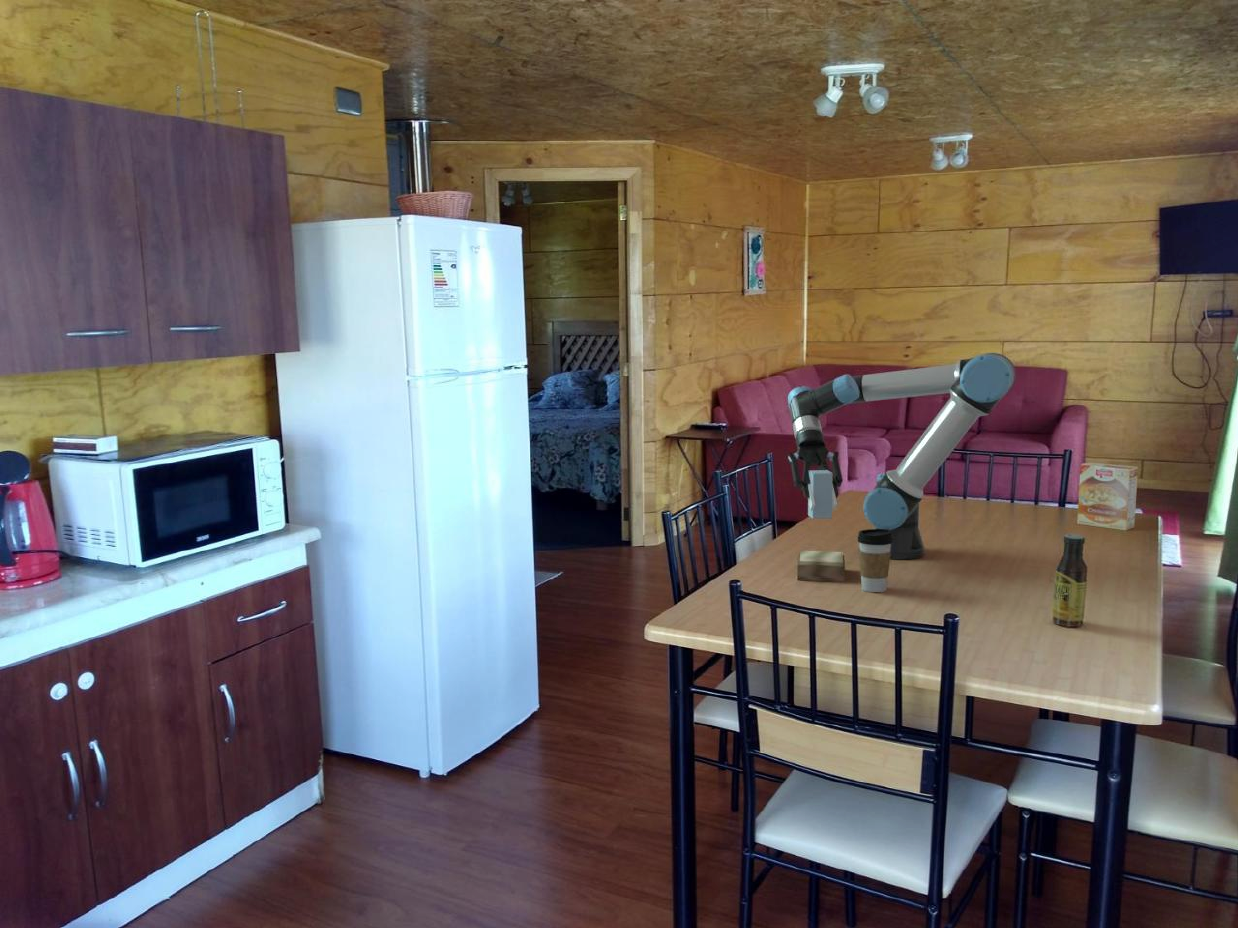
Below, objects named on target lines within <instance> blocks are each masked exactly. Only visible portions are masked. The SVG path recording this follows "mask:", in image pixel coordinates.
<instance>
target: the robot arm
mask: <svg viewBox="0 0 1238 928" xmlns="http://www.w3.org/2000/svg"><path fill="white" fill-rule="evenodd" d="M1015 380H1016V368H1015V366H1014V363H1013V362H1012V360H1010V359H1009V358H1008V357H1007V356H1005V355H1004V354H1001V353H998V352H997V353H996V352H987V353H983V354H982V353H981V354H979V355H977V356H974V357H971V358H964V359H959V360H958V361H957V362H956V363H954V364H953V363H952V364H947V365H937V366H929V367H921V368H920V367H919V368H915V369H914V368H913V369H912V368H911V369H903V370H897V371H887V372H880V373H872V374H864V375H854V376H851V375H850V374H846V373H845V374H843V375H841V376H838V377H836V378H834V379H832V380H831V381H828V382H826V383H824V384H821V386H817V387H816V388H814V389H812V388H811V387H809V386H805V385H802V386H801V387H800V386H797V387H795V388H793V389H792V390H791V391H790V392H789V393H788V395H787V402H788V410H789V414H790V418H791V423H792V429H793V433H794V438H795V445H796V449H797V451H796V452H795V453H794V452H791V451H790V452H789V454H788V457H787V461H788V462H789V464H790V467H791V474H792V479H793V484H794V488H798V489H799V488H800V490H801V491H802V493H803V498H804V499H807V500H808V501H809V506H810V511H813V510H814V507H815V501H814V496H813V492H812V487H811V484H808V483H809V471H810V467H812V466H815V467H818V470H828V471H830V472H832V473H833V479H832V511H836V508H837V505H838V503H837V498H838V496H839V490H838V487H841V486H842V483H843V475H842V472H841V467H840V463H839V452H838V451H834V452H831V451H829V450H828V448H827V447H826V443H825V442H826V441H825V437H824V433H823V429H822V424H821V419H820V416H823V415H826V414H827V413H830V412H832V411H834V410H837V409H839V408H841V407H843V406H846V405H849V404H856V403H864V402H873V401H883V400H894V399H901V398H902V399H903V398H912V397H913V398H914V397H920V396H923V397H924V396H931V395H940V394H950V398H949V399H948V400H947V402H946V403H945V404H944V406H943V407H942V408H941V410H940V411H939V412H938V413H937V415H936V416H935V417H934V419H933V420H932V421H931V423H930V424H929V425H928V426H927V428H926V429H925V430H924V432H923V433H922V435H920V437H919V439H918V440H917V441H916V442H915V444H914V445H913V446H912V448H910V450H909V451H908V453H907V454H906V455H905V457H904V458H903V459H902V461H901V462H900V463H899V464H898V465H897V467H896V469H892V470H887V471H886V472H885V473H879V474H878V475H877V476H876V477H877V478H876V485H875V486H874V488H873V489H872V490H871V491H869V492H868V493H867V494H866V496H865V498H864V500H863V505H862V507H863V508H862V510H863V514H864V517H865V518H866V520H867V521H868V523H870V524H871V525H872V526H873V527H875V528H874V529H888V530H891V531H892V538H893V540H892V541H893V542H892V543H891V547H890V550H891V555H890V560H914V559H918V558H922V557H923V556H924V555H925V545H924V541H923V539H922V534H921V531H920V529H919V523H920V522H919V521H920V520H919V517H920V503H921V501H922V500H923V498H924V488H925V486H926V485H927V484H928V482H929V481H930V480H931V479H932V478H933V476H934V475H935V474H936V472H937V471H938V470H939V468H940V467H941V466H942V464H943V463H944V462H945V461H946V459H948V457H949V456H950V455H951V453H952V452H953V451H954V449H955V448H956V447H957V445H958V444H959V443H960V441H961V440H962V439H963V438H964V437H965V435H966V434H967V433H968V431H969V430H970V429H971V428H972V426H973V425H974V423H976V421H977V420H978V419H979V418H980V417H983V416H988V415H990V413H991V412H992V411H993V410H994V408H995V407H996V405H997V404H998V403H999V402H1000V401H1001V400H1002V398H1003V397H1004V396H1005V395H1006V394H1007V393H1008V392H1009V390H1010V389H1012V387H1013V385H1014V383H1015ZM827 458H828V459H829V461H830V462H831V468H832V469H830V466H829V465H828V463H827V460H826V459H827ZM798 459H799V460H800V461H801V462H802V463H803V474H802V479H801V476H800V475H801V474H800V470H799V463H798ZM831 470H832V471H831ZM808 501H807V502H808Z"/></svg>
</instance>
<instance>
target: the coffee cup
mask: <svg viewBox="0 0 1238 928" xmlns="http://www.w3.org/2000/svg"><path fill="white" fill-rule="evenodd" d="M892 540H893V538H892V531H891V530H888V529H875V528H870V529H869V528H868V529H863V530H859V531H858V536H857V542H858V544H859V545H858V546H859V548H858V557H859V569H860V580H861V581H860V583H861V590H862V591H864V592H866V591H868V592H867V593H871V592H881V593H884V591H885V592H886V591H887V586H888V578H889V577H888V576H889V570H890V569H889V568H890V562H891V559H890V555H891V550H890V547H891V543H892V542H893V541H892Z"/></svg>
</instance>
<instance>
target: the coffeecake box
mask: <svg viewBox="0 0 1238 928" xmlns="http://www.w3.org/2000/svg"><path fill="white" fill-rule="evenodd" d="M1138 471H1139V467H1138V466H1133V465H1123V464H1122V465H1121V464H1111V463H1102V462H1091V461H1088V462H1083V463H1081V464H1080V469H1079V483H1078V484H1079V487H1078V503H1077V521H1076V522H1077V525H1083V526H1090V527H1097V528H1098V527H1099V528H1104V529H1112V530H1119V531H1129V530H1130V529H1133V528H1135V518H1136V504H1137V502H1136V501H1137V492H1138V491H1137V488H1138V487H1137V486H1138V474H1139V472H1138Z"/></svg>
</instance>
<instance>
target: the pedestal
mask: <svg viewBox="0 0 1238 928" xmlns="http://www.w3.org/2000/svg"><path fill="white" fill-rule="evenodd" d="M797 558H798V559H797V567H796V568H797V569H796V571H797V574H796V575H797V581H815V582H818V581H819V582H838V583H839V582H841V583H842V582H845V581H846V580H845V579H846V564H845V563H846V562H845V561H846V560H845V555H844V554H843V551H826V550H821V551H820V550H800V553H798V555H797Z"/></svg>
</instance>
